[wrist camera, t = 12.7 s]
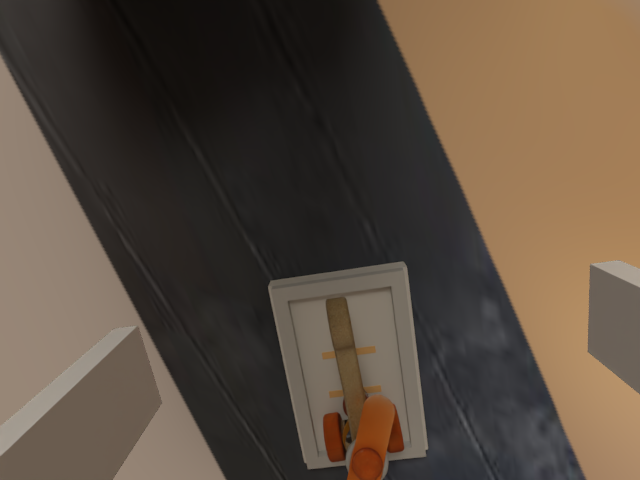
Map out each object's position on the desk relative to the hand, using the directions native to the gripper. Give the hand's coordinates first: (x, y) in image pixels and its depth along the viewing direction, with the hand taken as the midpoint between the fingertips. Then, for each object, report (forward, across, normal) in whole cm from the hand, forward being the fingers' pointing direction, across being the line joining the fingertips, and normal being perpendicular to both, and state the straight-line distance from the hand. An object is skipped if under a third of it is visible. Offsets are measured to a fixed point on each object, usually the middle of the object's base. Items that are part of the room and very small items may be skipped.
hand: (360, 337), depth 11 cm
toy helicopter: (+27, -1, -20) cm, 34 cm away
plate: (+29, -1, -20) cm, 35 cm away
